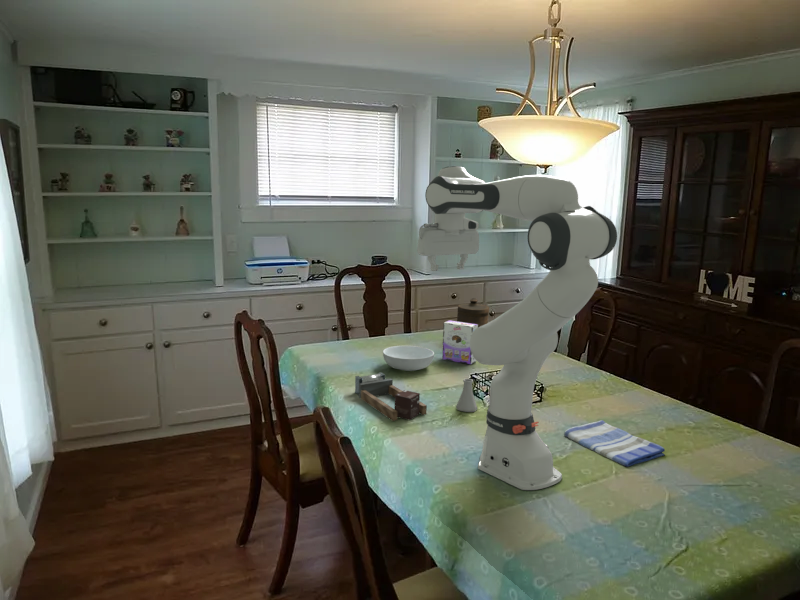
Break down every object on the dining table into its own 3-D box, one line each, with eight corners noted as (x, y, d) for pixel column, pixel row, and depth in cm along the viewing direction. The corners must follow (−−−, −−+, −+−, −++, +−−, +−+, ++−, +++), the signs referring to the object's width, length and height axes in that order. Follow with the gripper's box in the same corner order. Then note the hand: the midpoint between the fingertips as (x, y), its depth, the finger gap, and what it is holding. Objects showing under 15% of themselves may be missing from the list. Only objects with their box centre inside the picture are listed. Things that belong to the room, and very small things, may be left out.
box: (409, 420, 182) (410, 398, 180) (393, 416, 185) (394, 394, 183) (419, 414, 187) (420, 393, 185) (403, 410, 190) (404, 389, 188)
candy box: (476, 361, 246) (478, 324, 243) (470, 365, 241) (472, 326, 238) (447, 356, 253) (449, 319, 250) (441, 359, 249) (443, 321, 246)
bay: (426, 414, 187) (426, 399, 186) (393, 421, 181) (393, 406, 180) (390, 391, 207) (390, 378, 206) (358, 397, 201) (359, 383, 200)
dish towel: (601, 426, 183) (601, 417, 182) (667, 456, 163) (668, 447, 162) (560, 436, 174) (561, 427, 174) (625, 469, 154) (626, 460, 154)
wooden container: (493, 344, 276) (495, 298, 272) (474, 349, 265) (477, 302, 261) (468, 338, 286) (470, 294, 282) (449, 343, 275) (451, 297, 271)
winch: (385, 390, 208) (385, 374, 207) (359, 395, 202) (359, 379, 201) (380, 387, 211) (380, 371, 210) (354, 392, 206) (354, 375, 205)
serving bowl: (444, 370, 233) (444, 354, 232) (401, 379, 221) (401, 361, 220) (414, 357, 250) (414, 342, 249) (372, 365, 238) (373, 348, 237)
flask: (476, 413, 189) (478, 384, 187) (454, 411, 190) (455, 382, 188) (478, 405, 196) (479, 377, 194) (456, 403, 197) (458, 375, 195)
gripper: (425, 224, 162) (424, 273, 164) (483, 223, 172) (480, 269, 175) (413, 222, 167) (412, 270, 170) (470, 222, 178) (468, 267, 180)
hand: (447, 269), depth 172 cm, fingers open, 8 cm apart
